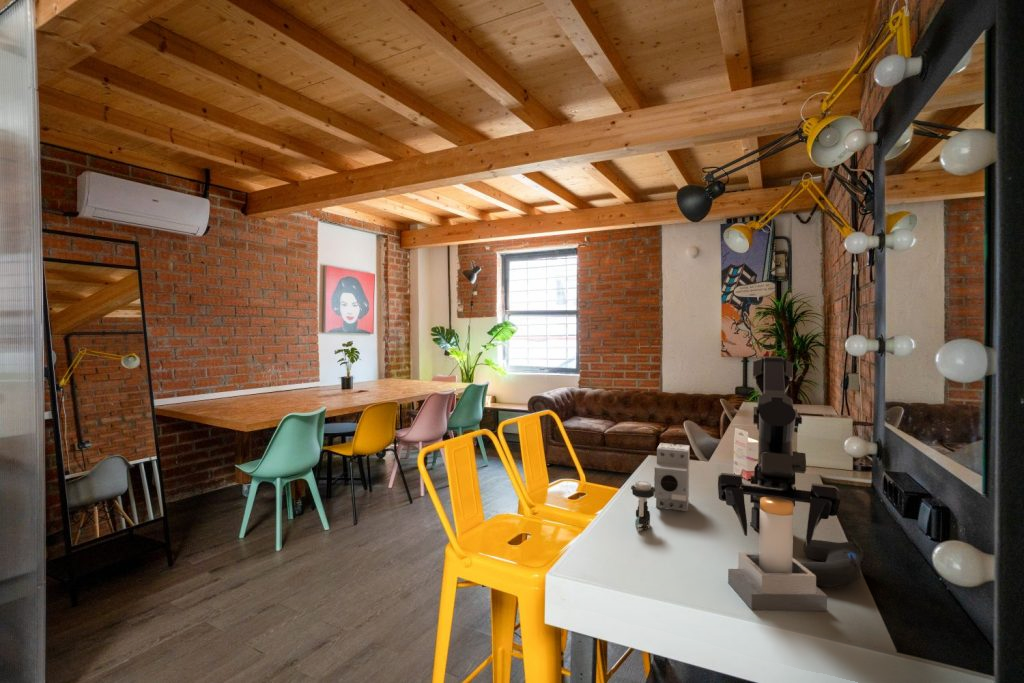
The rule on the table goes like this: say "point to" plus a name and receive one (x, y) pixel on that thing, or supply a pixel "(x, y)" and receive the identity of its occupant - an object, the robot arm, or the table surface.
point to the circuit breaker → (672, 476)
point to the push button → (642, 503)
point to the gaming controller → (834, 562)
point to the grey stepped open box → (776, 587)
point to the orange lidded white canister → (776, 535)
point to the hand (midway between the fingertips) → (776, 539)
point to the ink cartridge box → (744, 454)
